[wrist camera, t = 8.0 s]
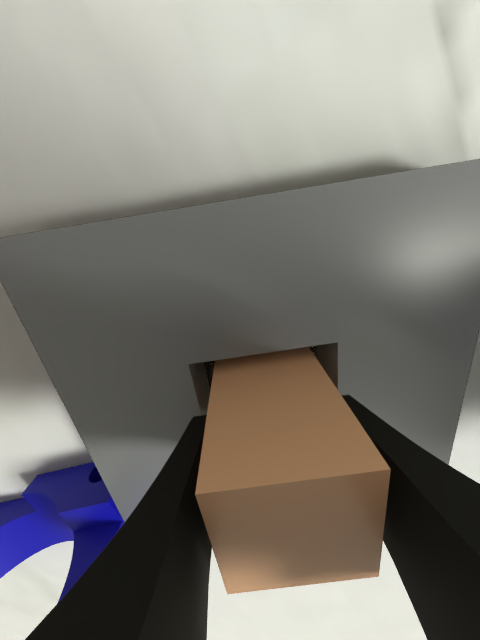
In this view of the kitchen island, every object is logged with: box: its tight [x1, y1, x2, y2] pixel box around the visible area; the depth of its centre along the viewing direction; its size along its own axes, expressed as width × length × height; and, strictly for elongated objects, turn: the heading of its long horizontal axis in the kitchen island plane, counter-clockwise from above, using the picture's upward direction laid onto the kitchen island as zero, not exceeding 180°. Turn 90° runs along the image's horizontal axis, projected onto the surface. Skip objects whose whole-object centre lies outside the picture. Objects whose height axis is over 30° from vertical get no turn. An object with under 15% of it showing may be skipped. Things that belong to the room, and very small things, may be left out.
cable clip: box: [0, 462, 125, 603], centre depth 12 cm, size 12×4×6 cm, turn 105°
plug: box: [195, 347, 391, 594], centre depth 9 cm, size 4×4×7 cm
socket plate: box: [0, 159, 480, 522], centre depth 11 cm, size 16×16×2 cm
